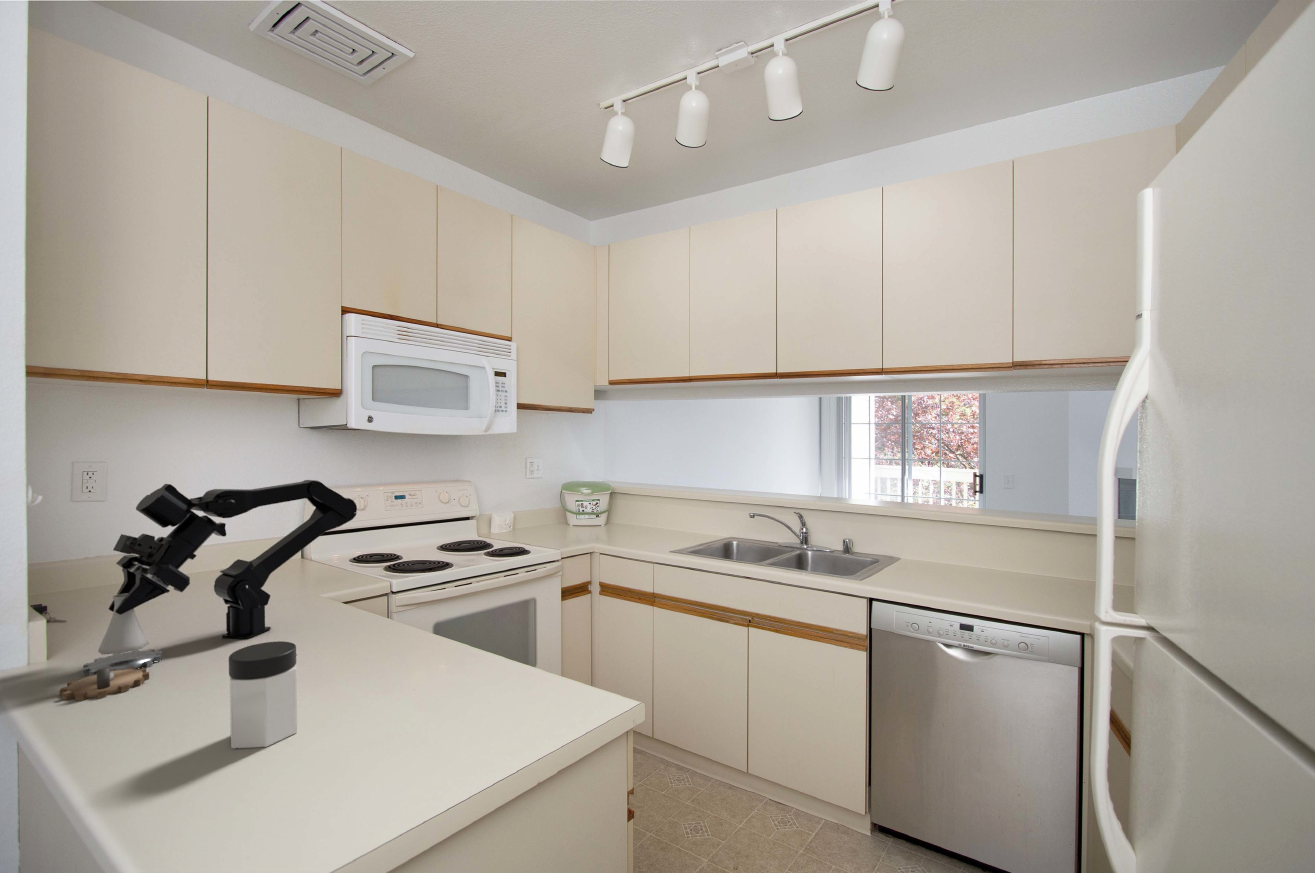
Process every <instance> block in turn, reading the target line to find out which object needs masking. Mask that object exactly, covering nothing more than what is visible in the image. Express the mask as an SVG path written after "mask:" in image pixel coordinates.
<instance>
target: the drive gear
mask: <svg viewBox="0 0 1315 873" xmlns="http://www.w3.org/2000/svg"><path fill="white" fill-rule="evenodd" d="M144 679H147V680H150V671H147V668H141V669H137V670H134V669H133V668H126V669H124V670H117V671H114V670H111V671H110V668H109V667H106V668H101V669H98V670H97V675H93V676H89V675H88V676H87V677H84V678H81V679H79V680H71V681H68V682H67V684H66V686H63V687H60V688H59V696H60V697H61V699H62V700H64V701H67V700H69V699H75V702H79V701H80V702H81V701H83V702H84V701H85V700H86V699H91V698H92V699H93V698H97V699H102V698H106V697H107V696H110V695H114V694H116V693H121V694H122V693H126V692H129V691H130V689H131V688H134V687H136V686H135V685H141V684H142V683H144V684H145V680H144ZM142 685H143V684H142ZM142 685H141V686H142ZM133 686H134V687H133Z"/></svg>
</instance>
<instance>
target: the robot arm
mask: <svg viewBox="0 0 1315 873" xmlns="http://www.w3.org/2000/svg"><path fill="white" fill-rule="evenodd" d="M303 499H306V500H307V501H308V502H309V503H310V504H311V505H312V506H313V507H314V510H312V511H313V512H312V513H311V514H310V517H309V518H308V519H307V520H306V521H304V522H303V523H301V524H300V525H298V526H297V527H296V528H294V529H293V530H291V532H289V533H288V534H287V535H285V536H284V537H283V538H281V539H280V540H278V541H277V542H276V543H274V544H273V545H272V546H270V547H268V548H267V549H266V550H265V551H263V552H262V553H260V555H258V556H257V557H255V558H253V559H252V560H249V561H248V560H244V559H239V558H238V559H236V560H234V561H233V563H231V564H230V565H229V566H228V567H227V568H225V569H222V570H220V571H219V572H220V573H221V574H220V575H218V576H217V577H216V579H215V580H214V585H213V590H214V593H215V595H216V596H218V597H219V598H222V601H223V602H224V604H225V605H226V606H227V610H226V611H227V612H226V614H225V618H226V628H225V629H226V632H225V633H223V634H221V638H223V639H225V638H227V639H229V638H231V639H251V638H252V637H255V636H258V635H260V634H263V633H265V632H267V631H270V630H272V626H266V606H268V604H269V601H270V598H271V594H269V593H268V592H267V591H265V590H264V589H263V587H264V586H265V584H266V582H267V581H268V579H269V577H270V576H271V574H272V573H274V572H275V571H276V570H277V569H279V568H280V567H281V566H283V565H284V564H285V563H287V562H288V561H289V560H291V559H292V558H293V557H294V556H295V555H297V554H298V553H300V552H301V551H302V550H304V548H306V547H307V546H308V545H310V544H312V543H313V542H314V541H315V540H317V539H318V538H320V536H322V535H323V534H324V533H326V532H329V531H331V530H334V529H336V528H340V527H342V526H343V525H346V524H347V523H349V522H351V521H352V520H353V519H355V518H356V515H357V513H358V512H357V511H358V507H357V503H356V502H355V501H354V500H353V499H352V498H350V497H344V496H343V495H341V494H340V493H338V492H336V491H335V490H333V489H332V488H330V487H328V486H326V485H325V484H324V483H322V481H320V480H316V479H315V480H314V479H305V480H302V481H296V482H292V483H283V484H278V485H277V484H276V485H271V486H264V487H257V488H252V489H250V488H249V489H243V488H241V489H238V488H237V489H235V488H213V489H209V490H207V491H205V492H204V494H203V495H202V496H196V497H194V498H189V497H187V496H185V495H184V494H183V493H181V492H180V491H179V490H178V489H177V488H176V487H175V486H174V485H172V484H170V483H165V484H163V485H162V486H161V487H159V488H158V489H155V490H154V491H152V492H151V493H149V494H146V495H145V496H144V497H143V498H142V499H141V500H140V501H139V502H138V504H137V505H136V507H135V510H136V511H137V512H138V513H140V514H142V515H143V516H144V517H146V518H147V519H149V520H150V521H152V522H154V523H155V524H156V525H158V526H160V527H161V528H164V529H165V528H168V527H171V528H173V527H175V528H173V529H172V530H171V531H170V532H169V534H167V535H166V537H165V536H159V537H157V538H156V536H155V535H152V534H151V535H150V534H147V533H142V534H139V536H138V537H136V536H131V535H127V534H121V533H120V536H119V537H118V540H117V541H116V544H115V545H114V547H113V549H112V550H113V551H114V552H115V551H116V552H118V553H122V554H126V555H123V556H122V557H121V558H119V560H118V561H117V562H116V565H117V566H119V567H121V572H122V573H123V581H122V584H121V586H120V588H119V589H118V590H117V591H118V592H117V593H116V595H118V594H124V593H128V595H127V596H126V597H125V598H124V600H123V601H122V602H121V604H120V605H119V606H118V608H117V609H116V610H115V612H116V613H118V614H120V615H121V614H123V613H125V612H127V611H129V610H131V609H133V608H134V609H135V608H137V607H139V606H141V605H144V604H145V603H147V602H150V601H151V600H154V599H156V598H158V597H161V596H162V595H164V594H168V593H170V591H171V590H170V589H168V588H169V587H172V588H173V590H174V591H176V592H179V593H183V592H184V591H185V590H186V589H187V588H188V587H189V586H190V584H191V582H190V578H191V577H190V576H188V575H187V574H185V573H184V572H182V571H181V570H180V568H182V566H184V564H186V562H188V560H190V561H191V560H195V558H196V557H197V556H198V555H196V554H195V553H196V552H198V550H199V549H200V548H201V547H202V546H203V545H204V544H205V543H206V542H207V540H209V538H210V537H211V536H213V534H214V535H215V536H218V537H226V536H227V531H226V525H227V524H226V523H225V522H220V521H219V522H216V521H215V520H214V519H212V518H211V517H215V518H221V519H231V518H234V517H237V516H239V515H243V514H246V513H248V512H250V511H251V510H253V509H256V508H260V507H263V506H264V507H266V506H269V505H276V504H281V503H287V502H288V503H289V502H292V501H298V500H303ZM194 511H198V512H203V513H204V514H205V515H201V516H200V515H199V514H197V513H196V512H194ZM114 606H115V601H114V600H113V599H112V601H111V604H110V605H109V606H108V610H109V611H111V612H112V613H113V612H114Z"/></svg>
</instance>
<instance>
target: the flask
mask: <svg viewBox="0 0 1315 873" xmlns="http://www.w3.org/2000/svg"><path fill="white" fill-rule="evenodd" d="M127 595H128V593H124V594H118V595H117V594H116V595H112V598H111V599H112V601H113V600H114V601H115V606H114V612H112V617H111V620H110V622H109V625H108V627H107V629H106V632H105V635H104V636H103V638H102V641H101V643H100V646H98V647H99V648H98V650H97V652H98V653H99V654H101V655H102V656H103V655H113V654H116V653H120V654H121V653H126V652H131V651H133V650H141V649H143V648H145V647H147V646H148V645H149V644H150V642H149V640H148V638H147V636H146V634H145V632H144V630H143V628H142V626H141V624H140V621H139V619H138V617H137V615H136V611H135V608H133V609H131V610H129V611H127V612H125V613H123V614H121V615H120V614H118V613H116V612H115V610H116V609H117V608H118V606H119V605H120V604H121V602H122V601H123V600H124V598H125V597H126V596H127Z"/></svg>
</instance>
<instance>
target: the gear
mask: <svg viewBox="0 0 1315 873" xmlns="http://www.w3.org/2000/svg"><path fill="white" fill-rule="evenodd" d="M161 659H163V651H161V650H158V651H156V650H155V649H153V648H150V649H147V650H140V649H138V650H133V651H128V652H124V653H116V654H111V655H108V656H106V657H98V658H97V657H96V658H95V659H93V661H92V662H87V663H85V664H83V665H82V666H83V667H82V668H81V675H82V676H87V675H88V677H89V676H93V675H97V670H98V669H101V668H106V667H109V668H110V671H111V670H114V671H117V670H124V669H126V668H133V669H134V670H136V669H137V670H139V669H138V668H141V669H142V667H148V668H150V667H149V666H151V665H152V666H153V663H152V662H154V661H160V660H161ZM161 661H162V660H161ZM161 661H160V662H161ZM152 666H151V667H152Z"/></svg>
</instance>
